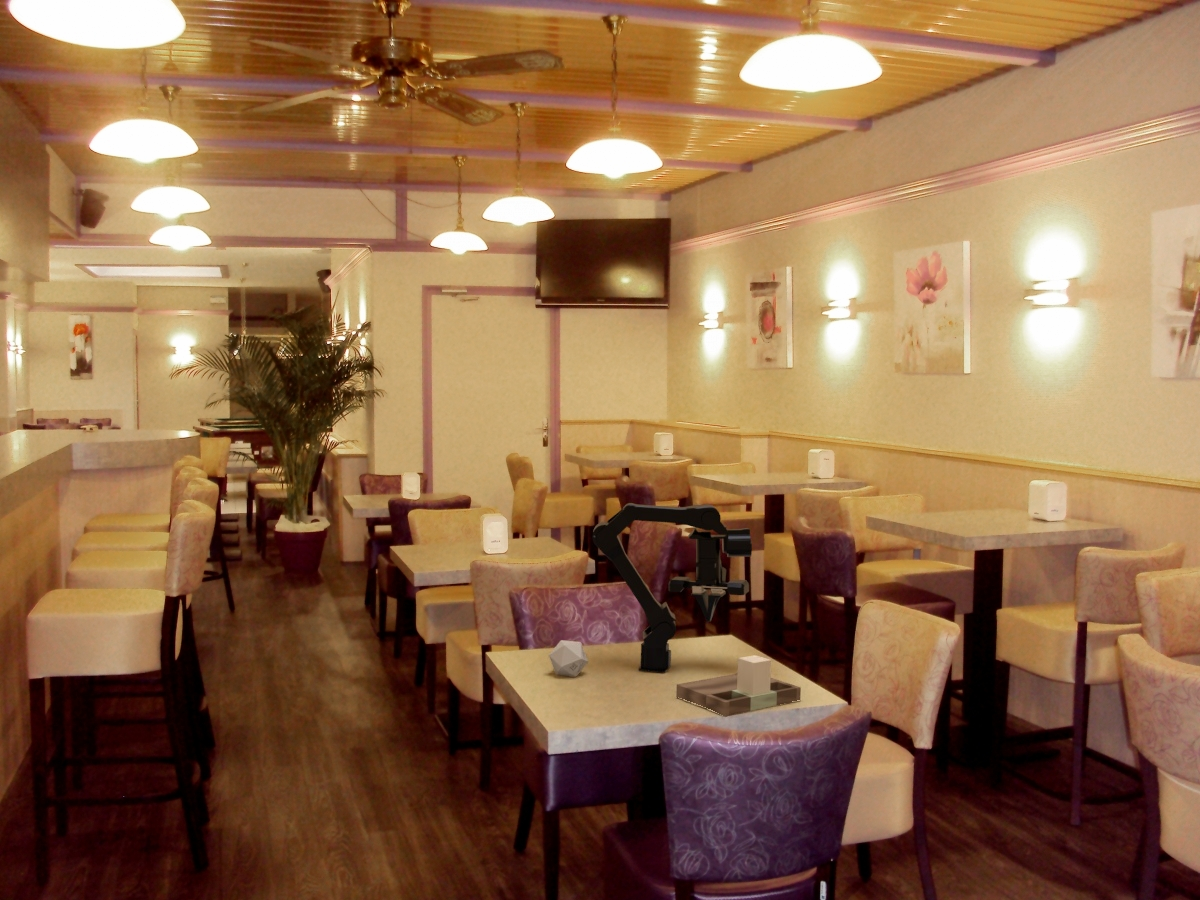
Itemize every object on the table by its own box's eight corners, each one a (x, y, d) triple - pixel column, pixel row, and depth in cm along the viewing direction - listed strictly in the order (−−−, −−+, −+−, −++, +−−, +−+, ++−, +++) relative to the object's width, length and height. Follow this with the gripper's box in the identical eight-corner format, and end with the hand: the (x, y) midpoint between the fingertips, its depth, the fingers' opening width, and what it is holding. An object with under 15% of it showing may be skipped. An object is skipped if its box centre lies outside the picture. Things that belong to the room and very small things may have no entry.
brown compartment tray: (676, 697, 240) (676, 684, 240) (750, 683, 252) (750, 671, 252) (724, 716, 227) (725, 702, 226) (800, 700, 239) (800, 687, 239)
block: (737, 689, 236) (737, 658, 236) (754, 686, 239) (754, 655, 238) (752, 695, 232) (753, 663, 232) (770, 692, 235) (771, 660, 234)
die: (563, 684, 252) (588, 650, 252) (536, 661, 255) (562, 628, 256) (574, 688, 259) (599, 655, 260) (549, 665, 263) (573, 634, 263)
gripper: (754, 553, 266) (754, 617, 267) (680, 550, 273) (681, 612, 274) (743, 560, 256) (743, 626, 257) (667, 557, 263) (668, 621, 264)
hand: (708, 621), depth 263 cm, fingers closed
